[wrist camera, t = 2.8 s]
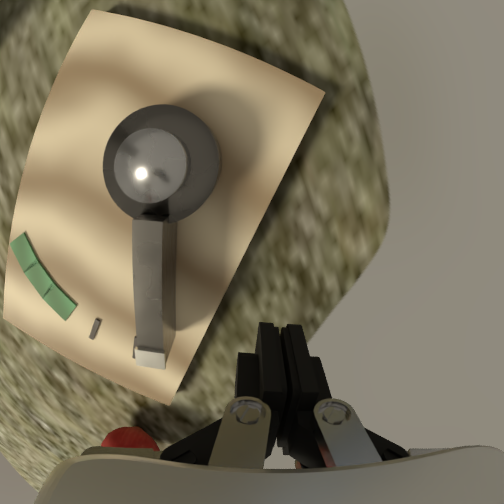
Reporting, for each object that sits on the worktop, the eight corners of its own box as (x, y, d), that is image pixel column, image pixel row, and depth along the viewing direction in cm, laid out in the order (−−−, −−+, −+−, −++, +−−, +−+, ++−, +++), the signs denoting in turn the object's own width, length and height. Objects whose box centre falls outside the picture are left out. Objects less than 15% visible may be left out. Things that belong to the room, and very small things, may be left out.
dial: (123, 110, 17) (94, 101, 13) (227, 112, 17) (222, 101, 13) (122, 327, 21) (102, 360, 17) (209, 338, 21) (203, 375, 17)
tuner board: (172, 394, 25) (168, 407, 24) (12, 310, 23) (2, 319, 21) (319, 96, 18) (326, 91, 17) (100, 16, 16) (90, 8, 14)
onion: (178, 437, 27) (166, 501, 19) (141, 450, 28) (125, 507, 20) (137, 403, 26) (113, 468, 18) (102, 419, 26) (77, 476, 19)
